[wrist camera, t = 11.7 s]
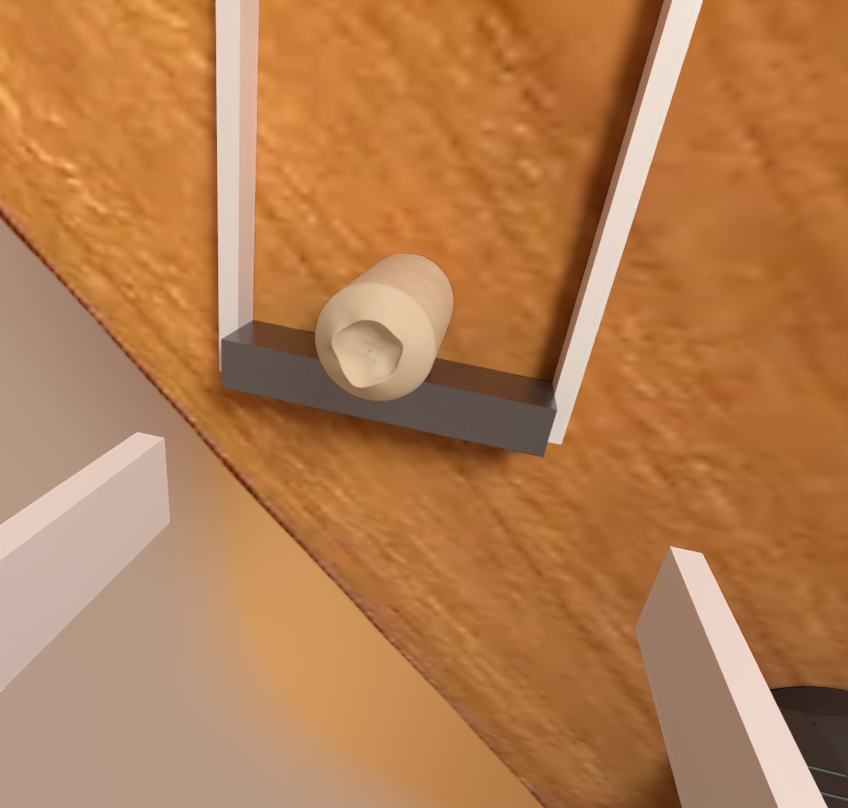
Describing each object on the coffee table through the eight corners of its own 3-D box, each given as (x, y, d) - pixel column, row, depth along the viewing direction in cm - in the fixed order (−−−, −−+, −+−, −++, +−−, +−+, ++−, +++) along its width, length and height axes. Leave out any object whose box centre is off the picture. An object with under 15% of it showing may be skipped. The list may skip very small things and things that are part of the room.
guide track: (558, 429, 33) (564, 461, 29) (234, 360, 35) (202, 383, 31) (718, -84, 22) (757, -131, 19) (236, -153, 24) (187, -209, 20)
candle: (429, 359, 32) (398, 435, 23) (349, 319, 32) (286, 380, 23) (471, 279, 30) (453, 329, 21) (384, 234, 30) (329, 266, 21)
